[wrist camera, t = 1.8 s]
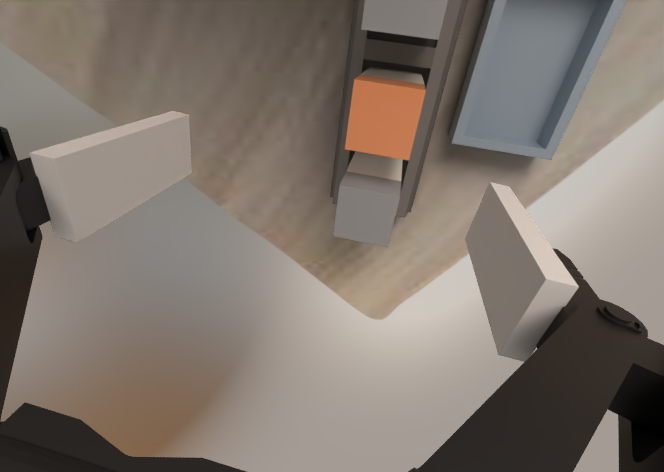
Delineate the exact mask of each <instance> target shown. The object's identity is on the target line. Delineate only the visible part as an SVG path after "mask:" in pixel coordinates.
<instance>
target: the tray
mask: <svg viewBox="0 0 664 472" xmlns="http://www.w3.org/2000/svg"><path fill="white" fill-rule="evenodd" d="M626 1H627V0H488V2H487V6H486V9H485V13H484V16H483V19H482V23H481V26H480V29H479V33H478V36H477V40H476V43H475V46H474V50H473V53H472V57H471V60H470V63H469V67H468V70H467V74H466V77H465V80H464V84H463V87H462V91H461V94H460V97H459V101H458V104H457V107H456V111H455V114H454V118H453V121H452V124H451V128H450V131H449V138H450V140H451V143H453V144H459V145H465V146H471V147H477V148H483V149H489V150H495V151H501V152H507V153H512V154H518V155H524V156H530V157H536V158H542V159H548V160H551V159H552V157H553V155H554V153H555V151H556V149H557V147H558V145H559V142H560V140H561V138H562V136H563V134H564V132H565V130H566V128H567V126H568V123H569V121H570V119H571V117H572V115H573V113H574V111H575V109H576V107H577V104H578V102H579V100H580V98H581V96H582V94H583V92H584V90H585V87H586V85H587V83H588V81H589V79H590V77H591V75H592V73H593V71H594V68H595V66H596V64H597V62H598V60H599V58H600V56H601V54H602V51H603V49H604V47H605V45H606V43H607V41H608V39H609V37H610V35H611V32H612V30H613V28H614V26H615V24H616V22H617V20H618V18H619V15H620V13H621V11H622V9H623V7H624V5H625V3H626Z"/></svg>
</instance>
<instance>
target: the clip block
mask: <svg viewBox="0 0 664 472" xmlns="http://www.w3.org/2000/svg"><path fill="white" fill-rule="evenodd" d="M466 4H467V0H448V2H447V7H446V11H445V15H444V19H443V23H442V27H441V31H440V35H439V39H438V40H435V39H428V38H421V37H413V36H406V35H399V34H391V33H384V32H377V31H369V30H362V29H361V27H362V19H363V12H364V5H365V0H355V1H354V9H353V17H352V25H351V33H350V41H349V50H348V58H347V66H346V74H345V82H344V90H343V98H342V106H341V114H340V122H339V130H338V138H337V146H336V154H335V163H334V171H333V179H332V187H331V195H330V197H333V204H337V201H338V194H339V187H340V183H341V181H342V179H343V177H344V175H345V173H346V171H347V169H348V166H349V164H350V162H351V160H352V158H353V156H354V154H355V152H356V151H352V150H346V149H345V143H346V136H347V129H348V121H349V114H350V107H351V100H352V92H353V85H354V79H355V78H357V77H358V76H359V75H360V74H362V73H363V72H364V71H365V70H367V69H368V68H369V67H371V66H375V67H382V68H389V69H396V70H403V71H409V72H416V73H421V74H422V77H423V81H424V85H425V88H426V93H425V97H424V101H423V105H422V109H421V113H420V117H419V122H418V126H417V130H416V134H415V138H414V142H413V146H412V150H411V154H410V158H409V160H403V162H402V177H401V193H400V200H399V204H398V208H397V212H396V216H400V217H405V215H406V212H411V209H412V205H413V201H414V198H415V194H416V190H417V187H418V183H419V179H420V175H421V172H422V168H423V164H424V161H425V157H426V153H427V149H428V146H429V142H430V138H431V134H432V131H433V127H434V123H435V120H436V116H437V112H438V108H439V105H440V101H441V97H442V93H443V90H444V86H445V82H446V79H447V75H448V71H449V67H450V64H451V60H452V56H453V53H454V49H455V45H456V41H457V38H458V34H459V30H460V26H461V23H462V19H463V15H464V12H465V8H466Z"/></svg>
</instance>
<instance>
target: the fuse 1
mask: <svg viewBox="0 0 664 472" xmlns="http://www.w3.org/2000/svg"><path fill="white" fill-rule="evenodd" d="M402 162H403V159H397V158H392V157H386V156H380V155H375V154H369V153H363V152H358V151H356V152H355V154H354V156H353V158H352V160H351V162H350V164H349V166H348V169H347V171H346V173H345V175H344V177H343V179H342V181H341V183H340V187H339V194H338V201H337V209H336V216H335V223H334V231H333V236H335V237H339V238H344V239H349V240H354V241H359V242H364V243H369V244H374V245H379V246H383V247H388V245H389V241H390V236H391V232H392V228H393V224H394V220H395V216H396V212H397V208H398V204H399V200H400V193H401V177H402Z"/></svg>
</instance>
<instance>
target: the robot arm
mask: <svg viewBox="0 0 664 472" xmlns="http://www.w3.org/2000/svg"><path fill="white" fill-rule="evenodd" d="M29 154H30V158H26V159H23V160H20V161H18V160H17V157H16V155H15V151H14V149H13V145H12V143H11V139H10V136H9V133H8V130H7V129H6V128H3V127H0V419H1V414H2V409H3V405H4V400H5V396H6V392H7V388H8V383H9V379H10V375H11V370H12V366H13V362H14V358H15V353H16V348H17V345H18V340H19V336H20V332H21V327H22V323H23V319H24V314H25V310H26V305H27V301H28V297H29V292H30V288H31V284H32V280H33V275H34V271H35V267H36V262H37V258H38V253H39V249H40V245H41V240H42V234H41V230H40V228H39V225H41V224H43V223H45V222H47V221H49V220H50V222H51V225H52V229H53V232H54V235H55V237H57V238H61V239H64V240H68V241H72V242H76V243H78V242H79V241H81V240H83V239H84V238H86V237H87V236H89V235H91V234H93V233H94V232H96V231H98V230H99V229H101V228H102V227H104V226H106V225H107V224H109V223H110V222H112V221H114V220H115V219H117V218H119V217H121V216H122V215H124V214H126V213H127V212H129V211H131V210H132V209H134V208H136V207H137V206H139V205H141V204H142V203H144V202H145V201H147V200H149V199H150V198H152V197H154V196H155V195H157V194H159V193H160V192H162V191H164V190H165V189H167V188H169V187H170V186H172V185H174V184H175V183H177V182H178V181H180V180H182V179H184V178H185V177H187V176H189V175H190V174H192V163H191V144H190V125H189V114H184V113H180V112H175V111H171V112H167V113H164V114H160V115H157V116H153V117H150V118H147V119H143V120H140V121H136V122H133V123H129V124H126V125H122V126H119V127H116V128H112V129H109V130H105V131H102V132H99V133H95V134H91V135H88V136H85V137H81V138H78V139H74V140H71V141H68V142H64V143H61V144H57V145H54V146H50V147H47V148H43V149H40V150H36V151H33V152H30V153H29ZM465 240H466V243H467V247H468V250H469V254H470V257H471V261H472V264H473V268H474V271H475V275H476V278H477V282H478V285H479V289H480V292H481V296H482V299H483V303H484V306H485V309H486V313H487V317H488V320H489V324H490V327H491V331H492V334H493V338H494V341H495V344H496V348H497V351H498V355H501V356H505V357H509V358H512V359H516V360H520V361H524V363H523V364H522V365H521V366H520V367H519V368H518V369H517V370H516V371H515V372H514V373H513V374H512V375H511V376H510V377H509V378H508V379H507V380H506V381H505V382H504V383H503V384H502V385H501V386H500V388H499V389H497V390H496V392H495V393H494V394H493V395H492V396H491V397H490V398H489V399H488V400H487V401H486V402H485V403H484V404H483V405H482V406H481V407H480V408H479V409H478V410H477V411H476V412H475V413H474V414H473V415H472V416H471V417H470V418H469V419H468V420H467V421H466V422H465V423H464V424H463V425H462V426H461V427H460V428H459V429H458V430H457V431H456V432H455V433H454V434H453V435H452V436H451V437H450V438H449V439H448V440H447V441H446V442H445V443H444V444H443V445H442V446H441V447H440V448H439V449H438V450H437V451H436V452H435V453H434V454H433V455H432V456H431V457H430V458H429V459H428V460H427V461H426V462H425V463H424V464H423V465H422V466H421V467H420V468H418V469H416V468H413V469H411V470H410V471H409V472H573V470H574V468H575V467H576V465H577V463H578V461H579V460H580V458H581V456H582V454H583V452H584V450H585V449H586V447H587V445H588V443H589V441H590V440H591V438H592V436H593V434H594V433H595V431H596V429H597V427H598V425H599V424H600V422H601V420H602V418H603V416H604V414H605V413H606V411H607V409H608V410H610V411H612V412H614V413H616V414H618V421H619V472H664V345H662V344H660V343H657V342H655V341H653V340H650V339H648V338H647V337H648V331H647V329H646V328H645V326H644V325H643V323H642V322H641V321H639V320H638V319H637V318H636V317H635V316H634V315H632V314H631V313H629V312H628V311H626V310H624V309H623V308H621V307H619V306H617V305H615V304H612V303H610V302H607V301H603V300H600V299H599V298H598V297H597V295H596V294H595V293H594V291H593V290H592V288H591V287H590V286H589V284H588V283H587V282H586V281H585V280H584V279H583V276H582V275H581V274H580V272H579V271H577V268H576V267H575V265H574V264H573V263H572V261H571V260H570V259H569V258H568V257H566V256H565V255H564V254H562V253H561V252H560V251H559V250H557V249H553V248H552V247H551V246H550V245H549V243H548V242H547V240H546V239H545V238H544V236H543V235H542V233H541V232H540V231H539V229H538V227H537V226H536V224H535V223H534V222H533V220H532V219H531V217H530V216H529V214H528V213H527V212H526V210H525V209H524V207H523V206H522V204H521V203H520V201H519V200H518V199H517V197H516V196H515V194H514V193H513V191H512V190H511V189H510V187H509V186H505V185H501V184H496V183H492V182H490V183H489V185H488V188H487V190H486V192H485V195H484V197H483V199H482V201H481V204H480V206H479V208H478V211H477V213H476V215H475V217H474V220H473V222H472V224H471V227H470V229H469V231H468V233H467V236H466V238H465ZM536 347H537V350H536V351H535V352H534V353H533V351H534V350H535V348H536ZM532 353H533V354H532ZM531 354H532V355H531ZM0 472H246V471H242V470H239V469H236V468H233V467H230V466H227V465H223V464H220V463H217V462H214V461H211V460H207V459H204V458H171V457H170V458H168V457H167V458H165V457H131V456H128V455H125V454H124V453H122V452H121V451H120V450H118V449H117V448H116V447H114V446H113V445H112V444H111V443H109V442H108V441H107V440H105V439H104V438H103V437H102V436H101V435H99V434H98V433H97V432H95V431H94V430H93V429H92V428H90V427H89V426H88V425H87V424H85V423H84V422H83V421H81V420H80V419H76V418H73V417H70V416H67V415H64V414H60V413H57V412H54V411H51V410H48V409H44V408H41V407H38V406H35V405H31V404H28V403H24V404H23V405H22V406H21V407H19V408H18V409H17V410H16V411H15V412H14V413H13V414H12V415H11V416H10V417H9V418H8V419H7V420H6V421H5V422H0Z"/></svg>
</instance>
